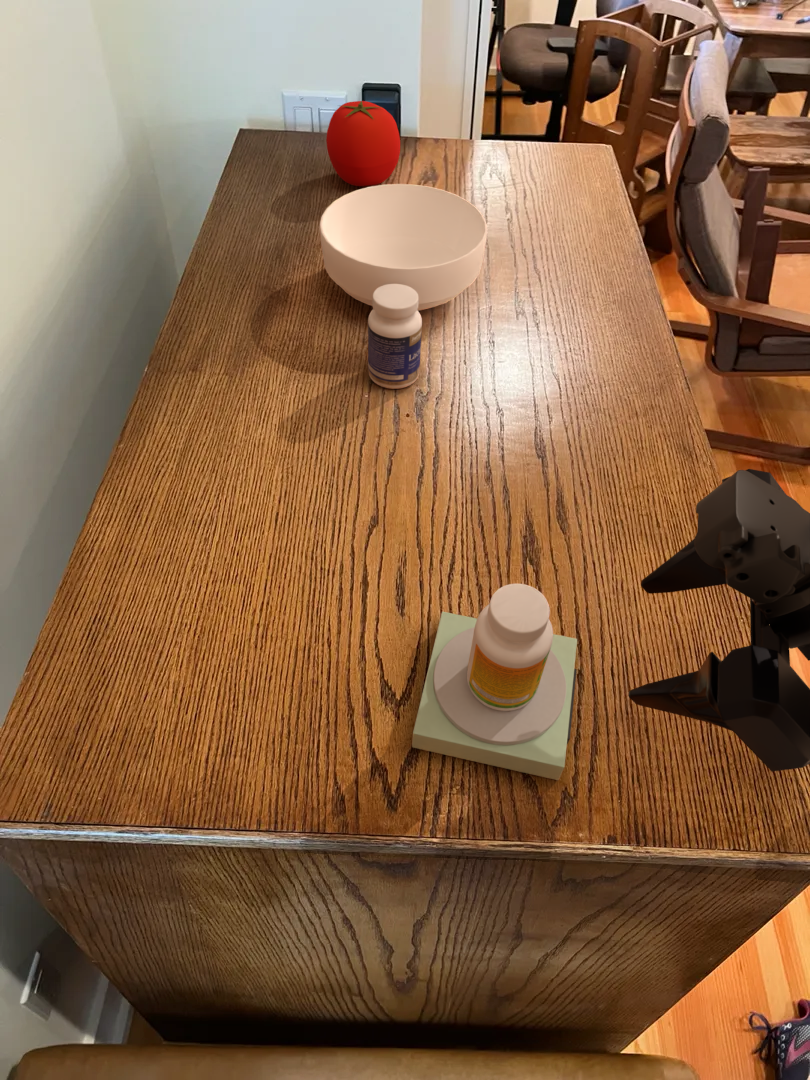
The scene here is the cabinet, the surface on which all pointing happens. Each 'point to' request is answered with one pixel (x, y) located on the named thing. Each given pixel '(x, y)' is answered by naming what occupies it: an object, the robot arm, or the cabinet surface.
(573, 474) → the cabinet surface
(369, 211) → the bowl
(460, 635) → the scale
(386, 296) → the pill bottle
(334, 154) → the tomato
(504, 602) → the supplement bottle
